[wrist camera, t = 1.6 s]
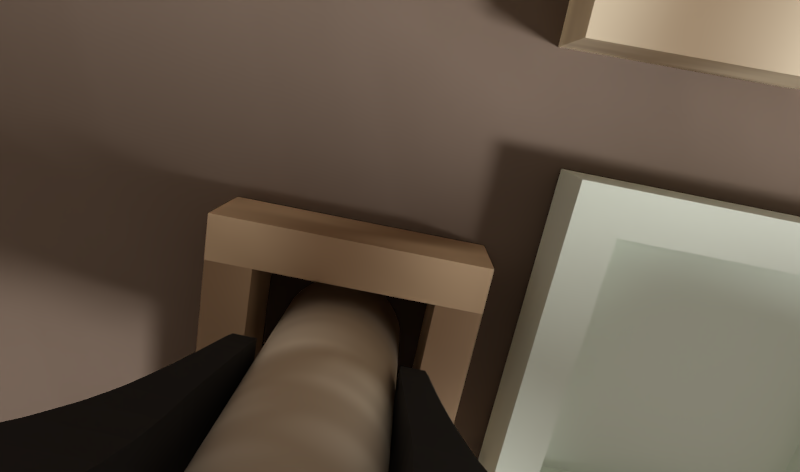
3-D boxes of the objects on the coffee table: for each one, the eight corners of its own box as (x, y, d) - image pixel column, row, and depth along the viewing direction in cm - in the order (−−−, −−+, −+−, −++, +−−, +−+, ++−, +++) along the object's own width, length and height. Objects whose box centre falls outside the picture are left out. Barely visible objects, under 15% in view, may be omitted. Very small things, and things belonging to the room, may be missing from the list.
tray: (922, 241, 13) (998, 262, 12) (775, 530, 16) (818, 583, 14) (561, 168, 13) (582, 179, 11) (474, 472, 16) (480, 518, 14)
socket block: (484, 245, 14) (494, 269, 12) (431, 451, 16) (433, 500, 14) (237, 196, 14) (208, 212, 12) (215, 409, 16) (186, 453, 14)
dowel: (410, 290, 14) (399, 514, 7) (388, 393, 15) (355, 695, 8) (291, 266, 14) (140, 466, 7) (276, 372, 15) (129, 653, 8)
